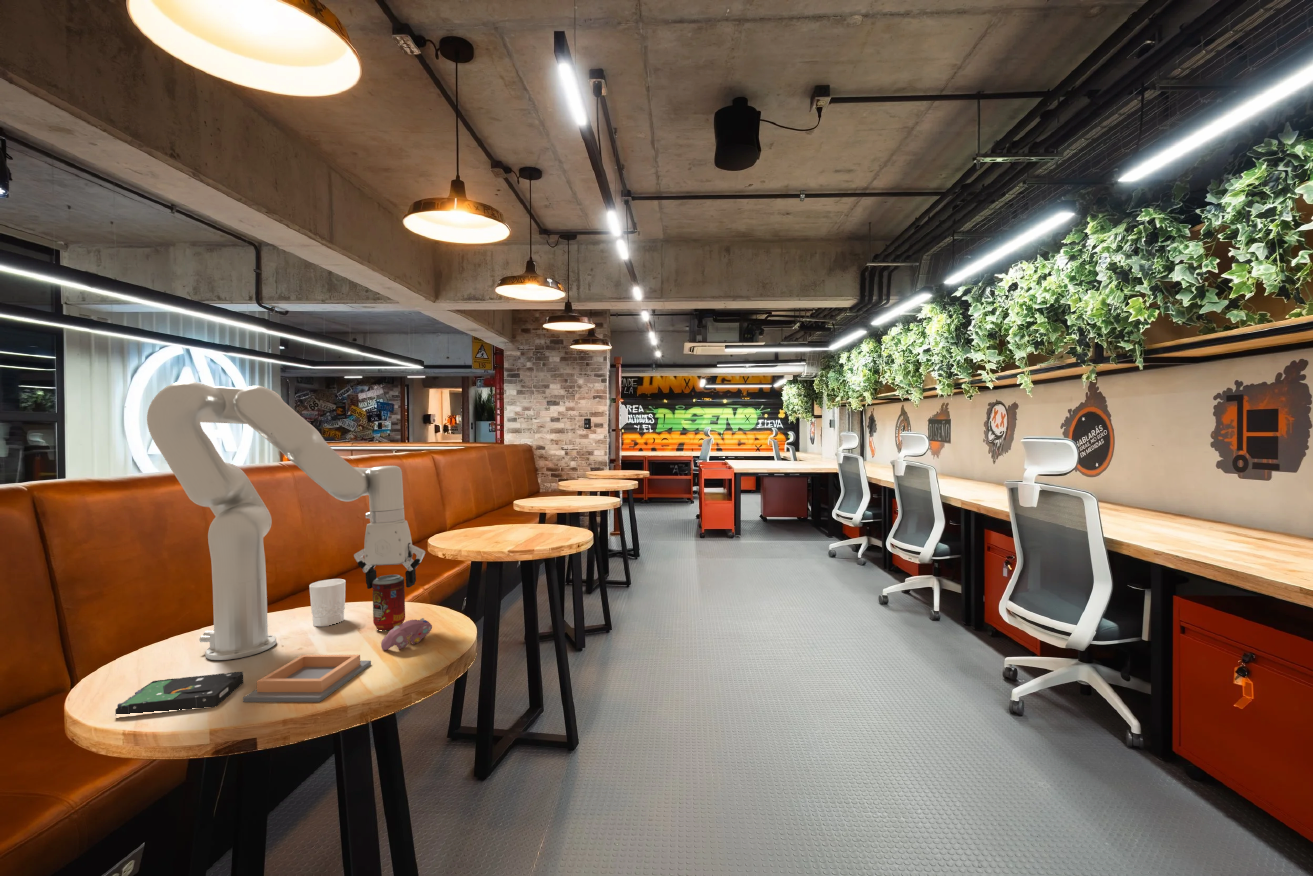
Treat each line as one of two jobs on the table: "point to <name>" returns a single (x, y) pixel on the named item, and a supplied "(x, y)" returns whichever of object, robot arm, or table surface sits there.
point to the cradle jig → (307, 678)
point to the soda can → (388, 602)
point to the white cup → (327, 601)
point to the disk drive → (182, 693)
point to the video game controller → (406, 633)
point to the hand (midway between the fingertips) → (391, 586)
